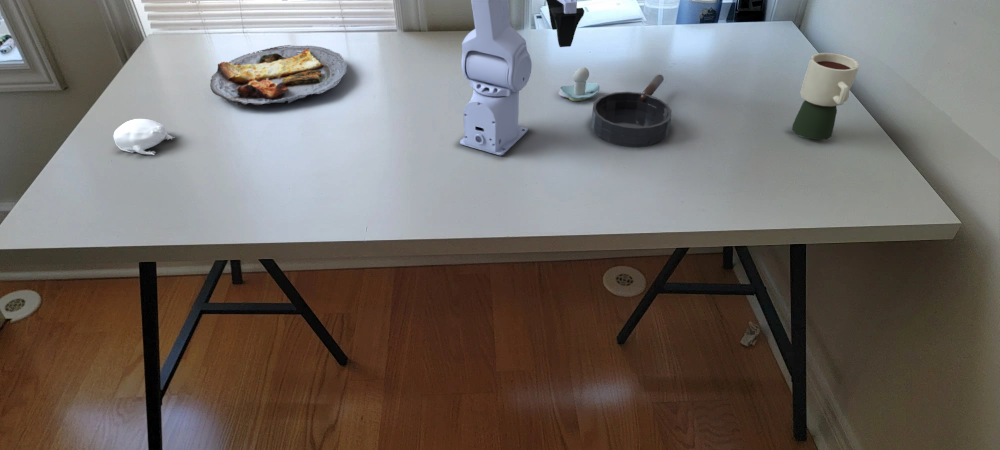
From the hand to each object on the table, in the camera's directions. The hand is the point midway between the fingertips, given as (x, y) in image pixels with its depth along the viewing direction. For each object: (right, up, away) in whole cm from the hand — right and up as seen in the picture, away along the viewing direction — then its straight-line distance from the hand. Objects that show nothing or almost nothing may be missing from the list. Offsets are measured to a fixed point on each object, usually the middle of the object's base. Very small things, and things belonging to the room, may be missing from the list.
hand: (561, 37), depth 120 cm
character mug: (+41, -19, -10) cm, 46 cm away
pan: (+11, -18, -9) cm, 23 cm away
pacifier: (+3, -11, +1) cm, 11 cm away
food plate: (-53, -7, +5) cm, 54 cm away
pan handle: (+16, -10, -2) cm, 19 cm away
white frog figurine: (-69, -21, -13) cm, 74 cm away
